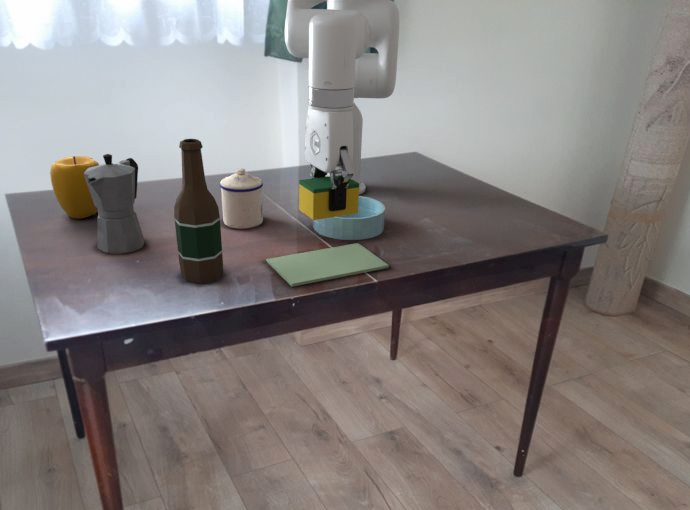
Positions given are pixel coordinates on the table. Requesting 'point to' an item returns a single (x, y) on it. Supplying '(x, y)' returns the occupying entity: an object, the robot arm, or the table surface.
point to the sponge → (325, 198)
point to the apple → (73, 186)
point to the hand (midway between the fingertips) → (328, 203)
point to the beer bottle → (197, 220)
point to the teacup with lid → (242, 200)
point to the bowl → (354, 222)
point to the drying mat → (325, 264)
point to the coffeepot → (115, 205)
